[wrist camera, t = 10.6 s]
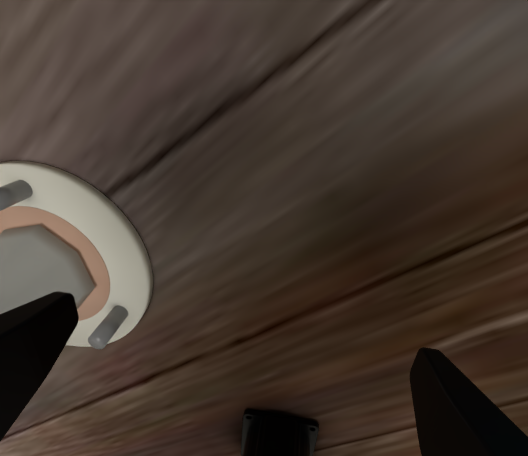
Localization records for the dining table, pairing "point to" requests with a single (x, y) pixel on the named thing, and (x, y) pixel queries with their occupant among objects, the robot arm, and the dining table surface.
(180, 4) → the dining table surface
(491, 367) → the dining table surface
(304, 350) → the dining table surface
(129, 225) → the pin cradle
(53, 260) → the flask
